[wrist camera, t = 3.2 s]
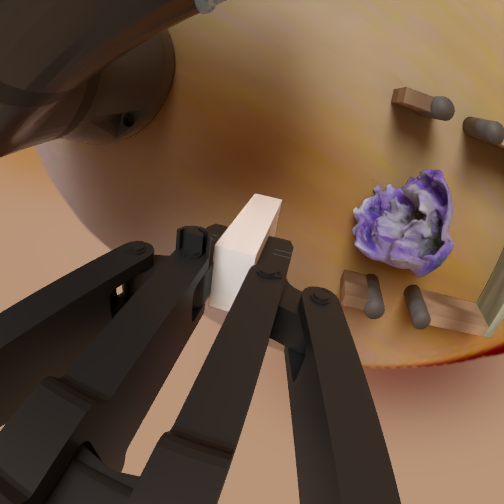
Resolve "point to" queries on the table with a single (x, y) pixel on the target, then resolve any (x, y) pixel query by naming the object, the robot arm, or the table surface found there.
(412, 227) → the flower
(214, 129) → the table surface
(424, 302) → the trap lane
